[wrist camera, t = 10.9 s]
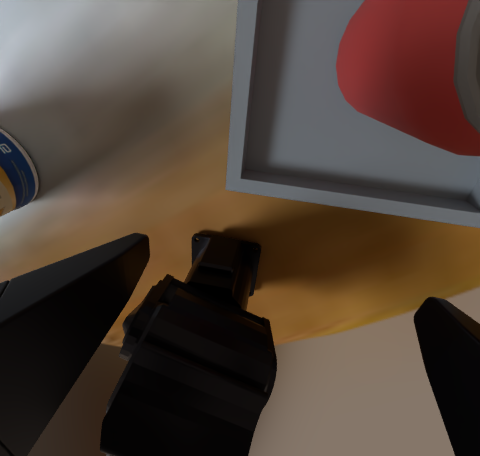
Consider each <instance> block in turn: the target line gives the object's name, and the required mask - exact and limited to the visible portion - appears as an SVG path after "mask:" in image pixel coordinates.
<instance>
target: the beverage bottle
mask: <svg viewBox="0 0 480 456" xmlns="http://www.w3.org/2000/svg"><path fill="white" fill-rule="evenodd" d="M38 186H39V182H38V176H37V172H36V169H35V167H34V164H33V162H32V161H31V159H30V157H29V156H28V154H27V153H26V151H25V150H24V149H23V148H22V146H21V145H20V144H19V143H18V142H17V141H16V140H15V139H14V138H13V137H11V136H10V135H9V134H8V133H6V132H5V131H4V130H2V129H1V128H0V216H2V215H5V214H7V213H9V212H10V211H13V210H16V209H18V208H21V207H23V206H25V205H27V204H29V203H30V202H31V201H32V200H33V199H34V198H35V196H36V195H37V192H38Z"/></svg>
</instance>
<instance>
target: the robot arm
mask: <svg viewBox="0 0 480 456" xmlns="http://www.w3.org/2000/svg"><path fill="white" fill-rule="evenodd" d="M196 238H198V239H199V240H197V239H196ZM253 248H257V250H255V249H253ZM260 252H261V246H260V245H259V244H258V243H253V242H247V241H241V240H238V239H232V238H226V237H220V236H214V235H213V236H211V235H205V234H199V233H196V234H194V235H193V237H192V267H191V269H190V271H189V273H188V275H187V277H186V279H185V281H184V283H183V282H181V281H179V280H177V279H175V278H174V277H173V276H171V275H169V274H167V275H166V276H165V278H164V279H163V281H162V280H160V281H159V282H158V284H157V285H155V286H152V288H151V289H150V291H149V292H148V294H147V295H146V297H145V298H144V300H143V301H142V302H141V303H140V304H139V305H138V306H137V307H136V308H135V309H134V310H133V311H132V312H131V313H130V314H129V315H128V316H127V317H126V319H125V320H124V322H123V325H122V326H123V330H124V333H125V337H124V339H123V342H122V343H123V346H122V348H121V351H120V354H119V357H121V358H123V359H125V360H129V362H128V364H127V366H126V368H125V370H124V371H123V373H122V376H121V377H120V379H119V381H118V383H117V385H116V387H115V389H114V391H113V393H112V395H111V397H110V399H109V401H108V404H107V409H106V416H105V417H104V420H103V422H102V430H101V442H100V451H101V452H103V453H106V456H248V454H249V450H250V446H251V442H252V438H253V434H254V431H255V428H256V425H257V422H258V419H259V416H260V414H261V411H262V409H263V408H264V406H265V405H266V403H267V402H268V400H269V397H270V395H271V392H272V389H273V386H274V382H275V378H276V371H277V359H276V353H275V348H274V342H273V337H272V332H271V327H270V321H269V320H268V319H266V318H264V317H262V318H261V317H258V316H256V315H254V314H252V313H250V312H247V311H246V309H247V304H248V298H249V296H252V295H253V294H254V288H255V282H256V276H257V270H258V264H259V258H260ZM149 258H150V249H149V238H148V236H147V235H145V234H140V233H133V234H130V235H128V236H125V237H122V238H120V239H117V240H114V241H112V242H109V243H106V244H104V245H101V246H98V247H95V248H93V249H90V250H87V251H85V252H82V253H79V254H77V255H74V256H71V257H69V258H66V259H63V260H61V261H58V262H55V263H53V264H50V265H47V266H45V267H42V268H39V269H37V270H34V271H31V272H29V273H26V274H23V275H21V276H18V277H15V278H12V279H11V280H10V281H8V280H7V281H4V282H2V283H0V456H27V455H28V453H29V452H30V450H31V449H32V447H33V446H34V444H35V443H36V441H37V440H38V438H39V437H40V435H41V434H42V432H43V430H44V429H45V427H46V426H47V424H48V423H49V421H50V420H51V418H52V417H53V415H54V414H55V412H56V411H57V409H58V408H59V406H60V405H61V403H62V402H63V400H64V399H65V397H66V395H67V394H68V392H69V391H70V389H71V388H72V386H73V385H74V383H75V382H76V380H77V378H78V377H79V376H80V374H81V373H82V371H83V370H84V368H85V366H86V365H87V363H88V362H89V360H90V359H91V357H92V356H93V354H94V352H95V351H96V350H97V348H98V347H99V345H100V344H101V342H102V341H103V339H104V337H105V336H106V334H107V333H108V331H109V330H110V328H111V327H112V325H113V324H114V322H115V321H116V319H117V318H118V316H119V315H120V313H121V311H122V310H123V308H124V307H125V305H126V304H127V302H128V300H129V299H130V297H131V295H132V293H133V291H134V289H135V287H136V285H137V283H138V281H139V279H140V277H141V275H142V273H143V271H144V269H145V267H146V265H147V263H148V261H149ZM414 324H415V328H416V332H417V337H418V341H419V345H420V349H421V353H422V358H423V362H424V365H425V369H426V373H427V376H428V379H429V382H430V385H431V387H432V390H433V393H434V396H435V399H436V402H437V404H438V408H439V410H440V413H441V416H442V419H443V422H444V425H445V428H446V431H447V433H448V436H449V439H450V442H451V445H452V448H453V451H454V454H455V456H480V324H479V323H478V322H476V321H475V320H473V319H472V318H471V317H469V316H468V315H466V314H465V313H464V312H462V311H461V310H459V309H458V308H457V307H455V306H454V305H452V304H451V303H450V302H448V301H447V300H445V299H441V298H436V297H428V298H427V299H426V300H425V301H424V302H423V304H422V305H421V306H420V308H419V309H418V310H417V311H416V313H415V315H414Z"/></svg>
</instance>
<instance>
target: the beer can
mask: <svg viewBox="0 0 480 456" xmlns="http://www.w3.org/2000/svg"><path fill="white" fill-rule="evenodd" d="M336 71H337V80H338V86H339V88H340V90H341V92H342V94H343V96H344V98H345V100H346V101H347V102H348V103H349V104H350V105H351V106H352V107H353V108H354V109H355V110H356V111H357V112H360V113H362V114H364V115H366V116H368V117H371V118H373V119H375V120H377V121H379V122H382V123H384V124H386V125H388V126H390V127H393V128H395V129H397V130H399V131H401V132H404V133H406V134H408V135H410V136H412V137H415V138H417V139H419V140H421V141H423V142H426V143H428V144H430V145H433V146H436V147H438V148H441V149H443V150H446V151H449V152H451V153H454V154H456V155H465V156H480V0H365V1H364V2H363V3H362V5H361V6H360V7H359V8H358V10H357V11H356V12H355V14H354V15H353V16H352V18H351V19H350V20H349V23H348V25H347V27H346V29H345V32H344V34H343V36H342V39H341V41H340V43H339V49H338V55H337V61H336Z"/></svg>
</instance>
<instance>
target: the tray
mask: <svg viewBox="0 0 480 456" xmlns="http://www.w3.org/2000/svg"><path fill="white" fill-rule="evenodd" d="M364 1H365V0H238V9H237V24H236V39H235V55H234V70H233V85H232V100H231V115H230V131H229V146H228V161H227V176H226V190H230V191H237V192H244V193H250V194H257V195H264V196H270V197H277V198H284V199H290V200H297V201H303V202H310V203H317V204H323V205H330V206H337V207H343V208H350V209H357V210H363V211H370V212H377V213H383V214H390V215H397V216H403V217H410V218H417V219H423V220H430V221H437V222H443V223H450V224H457V225H463V226H470V227H477V228H480V156H465V155H456V154H454V153H451V152H449V151H446V150H443V149H441V148H438V147H436V146H433V145H430V144H428V143H426V142H423V141H421V140H419V139H417V138H415V137H412V136H410V135H408V134H406V133H404V132H401V131H399V130H397V129H395V128H393V127H390V126H388V125H386V124H384V123H382V122H379V121H377V120H375V119H373V118H371V117H368V116H366V115H364V114H362V113H360V112H357V111H356V110H355V109H354V108H353V107H352V106H351V105H350V104H349V103H348V102H347V101H346V100H345V98H344V96H343V94H342V92H341V90H340V88H339V86H338V80H337V71H336V61H337V55H338V49H339V43H340V41H341V39H342V36H343V34H344V32H345V29H346V27H347V25H348V23H349V20H350V19H351V18H352V16H353V15H354V14H355V12H356V11H357V10H358V8H359V7H360V6H361V5H362V3H363V2H364Z"/></svg>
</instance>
